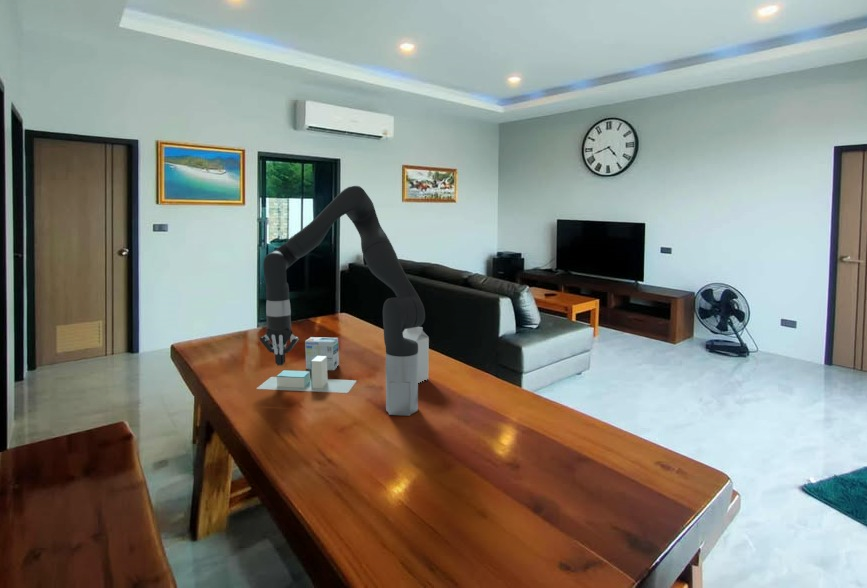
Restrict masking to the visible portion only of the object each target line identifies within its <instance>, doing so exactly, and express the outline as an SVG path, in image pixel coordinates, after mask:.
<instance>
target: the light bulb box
mask: <svg viewBox="0 0 867 588" xmlns="http://www.w3.org/2000/svg"><path fill="white" fill-rule="evenodd" d="M304 347H305V348H304V349H305V370H311V360H312V359H314V358H315V357H316V356H327V371H335V370H336V369H337V366H338V365H339V366H340V359H339V357H340V353H339V351H340V350H339V337H325V336H324V337H321V336H320V337H319V336H318V337H317V336H316V337H314V336H310V337H309V338H308V339H305V341H304ZM339 366H338V367H339Z"/></svg>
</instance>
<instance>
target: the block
mask: <svg viewBox="0 0 867 588" xmlns="http://www.w3.org/2000/svg"><path fill="white" fill-rule="evenodd" d="M310 378H311V388H323V387H324V386H325V385H326V383H327V382H328V379H329V377H328V370H327V356H316V357H315V358H314V359H312V360H311V369H310Z"/></svg>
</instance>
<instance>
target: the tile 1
mask: <svg viewBox="0 0 867 588" xmlns="http://www.w3.org/2000/svg"><path fill="white" fill-rule="evenodd" d="M276 377H277V386H281V387H303V388H304V387H305V386H306V385H307V384H308V383H309V382H310V378H311V370H282V371H281V372H280V373H279V374H277V375H276Z"/></svg>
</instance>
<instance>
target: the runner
mask: <svg viewBox="0 0 867 588" xmlns="http://www.w3.org/2000/svg"><path fill="white" fill-rule="evenodd" d="M357 381H358V380H355V379H354V380H353V379H351V380H350V379H337V378H336V379H334V378H333V379H332V378H328V382H327V383H326V385H325V386H324V387H323V388H311V377H310V382H309V383H308V384H307V385H306V386H305V387H304V388H303V387H281V386H277V376H271V377H269V378H267V379H266V380H265V381H264V382H262V383H261V384H260V385H258V387H256V390H271V391H273V390H274V391H275V390H277V391H293V392H294V391H295V392H314V393H315V392H317V393H318V392H319V393H336V394H337V393H341V394H342V393H343V394H349V392H350V391H351V390H352V388H353V386H355V384H356V383H357Z"/></svg>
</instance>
